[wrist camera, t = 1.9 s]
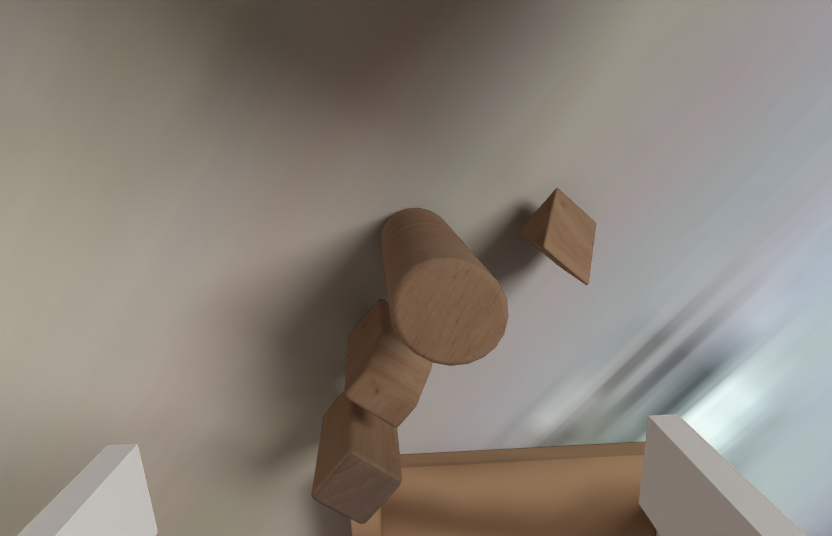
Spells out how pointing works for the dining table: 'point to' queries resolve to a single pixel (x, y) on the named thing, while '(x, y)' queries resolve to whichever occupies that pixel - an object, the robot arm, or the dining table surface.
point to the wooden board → (517, 493)
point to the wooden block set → (423, 341)
